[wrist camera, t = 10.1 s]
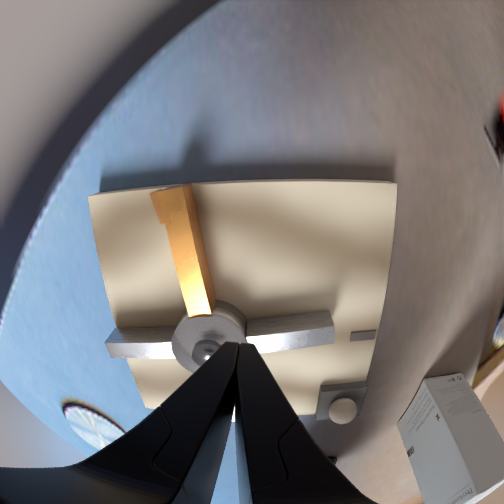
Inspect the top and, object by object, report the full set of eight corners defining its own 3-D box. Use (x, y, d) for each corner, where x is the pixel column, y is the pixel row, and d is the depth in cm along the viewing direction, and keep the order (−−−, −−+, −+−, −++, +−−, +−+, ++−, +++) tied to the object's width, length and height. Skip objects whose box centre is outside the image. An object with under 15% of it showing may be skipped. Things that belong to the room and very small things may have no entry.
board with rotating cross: (353, 398, 24) (363, 430, 20) (150, 397, 25) (138, 427, 21) (387, 181, 17) (417, 190, 14) (98, 192, 18) (65, 204, 15)
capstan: (316, 163, 16) (328, 166, 13) (328, 392, 22) (334, 419, 19) (77, 208, 17) (51, 220, 14) (152, 401, 23) (142, 425, 20)
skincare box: (422, 377, 23) (478, 493, 9) (463, 370, 23) (522, 467, 9) (394, 426, 26) (426, 529, 12) (433, 418, 26) (471, 509, 12)
